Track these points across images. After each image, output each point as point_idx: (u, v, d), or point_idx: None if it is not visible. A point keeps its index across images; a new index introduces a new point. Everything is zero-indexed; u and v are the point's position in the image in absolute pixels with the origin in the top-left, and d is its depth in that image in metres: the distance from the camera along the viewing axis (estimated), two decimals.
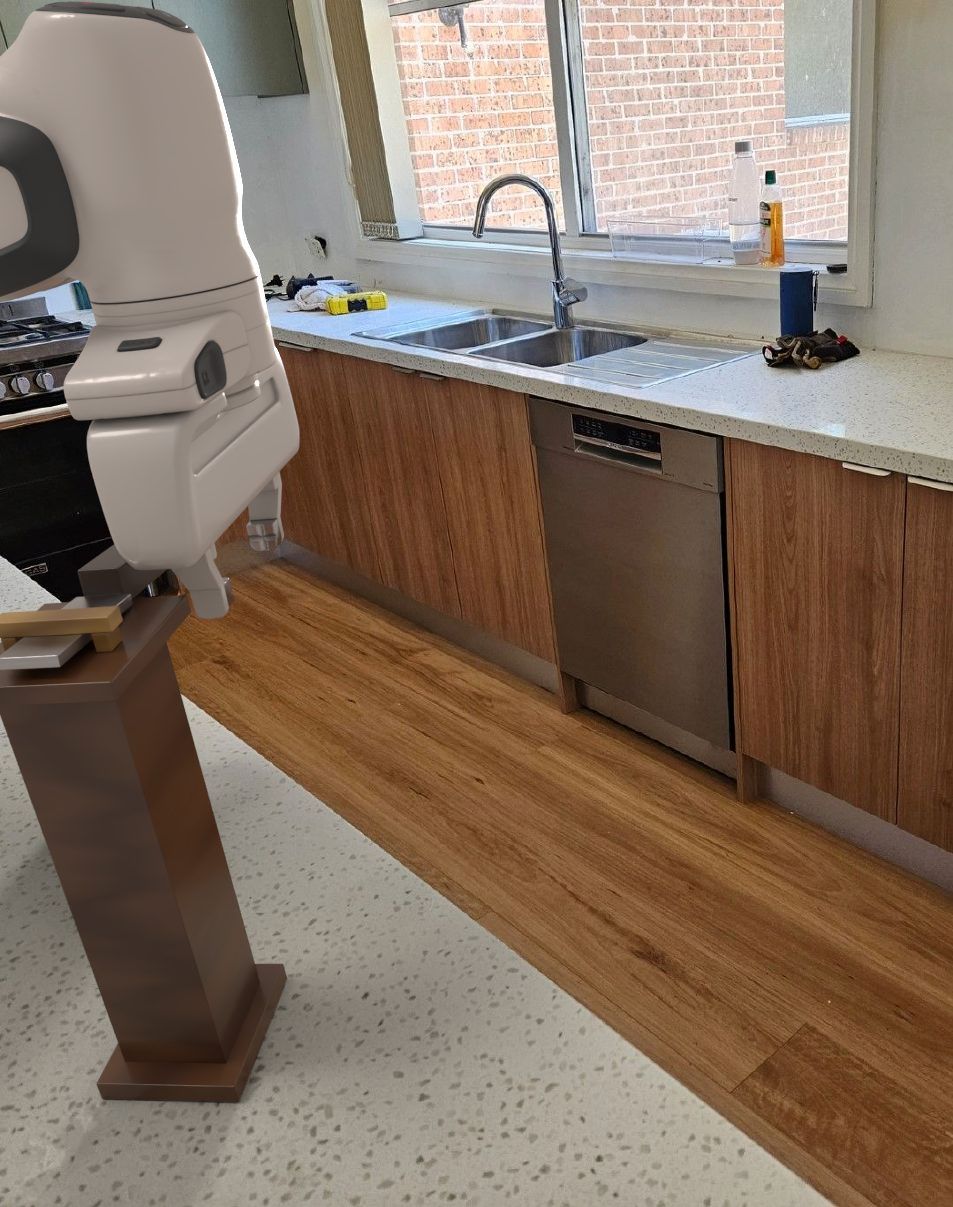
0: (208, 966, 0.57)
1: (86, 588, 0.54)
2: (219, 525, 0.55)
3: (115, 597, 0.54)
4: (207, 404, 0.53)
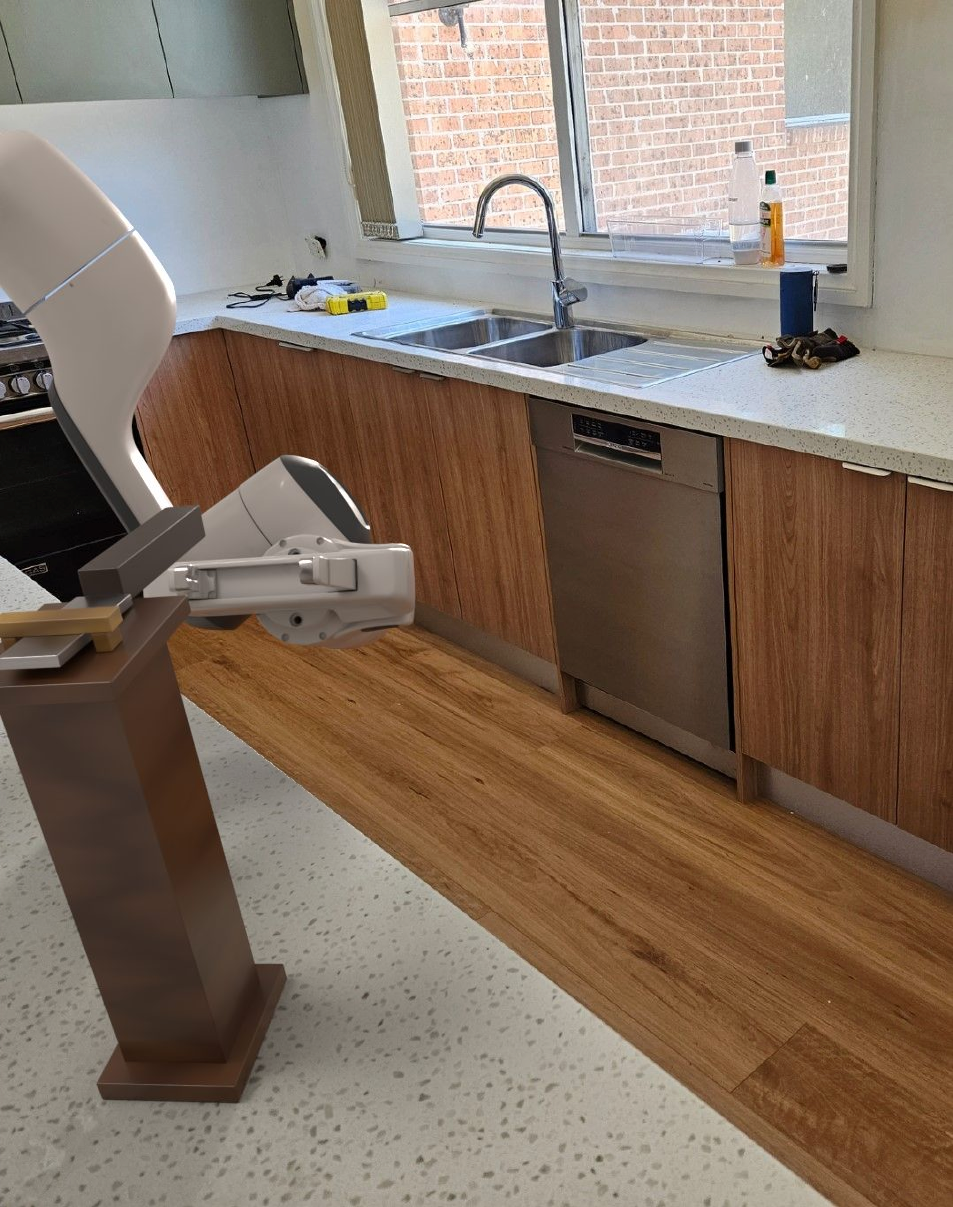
0: (208, 966, 0.57)
1: (86, 588, 0.54)
2: (348, 601, 0.77)
3: (115, 597, 0.54)
4: (373, 619, 0.83)
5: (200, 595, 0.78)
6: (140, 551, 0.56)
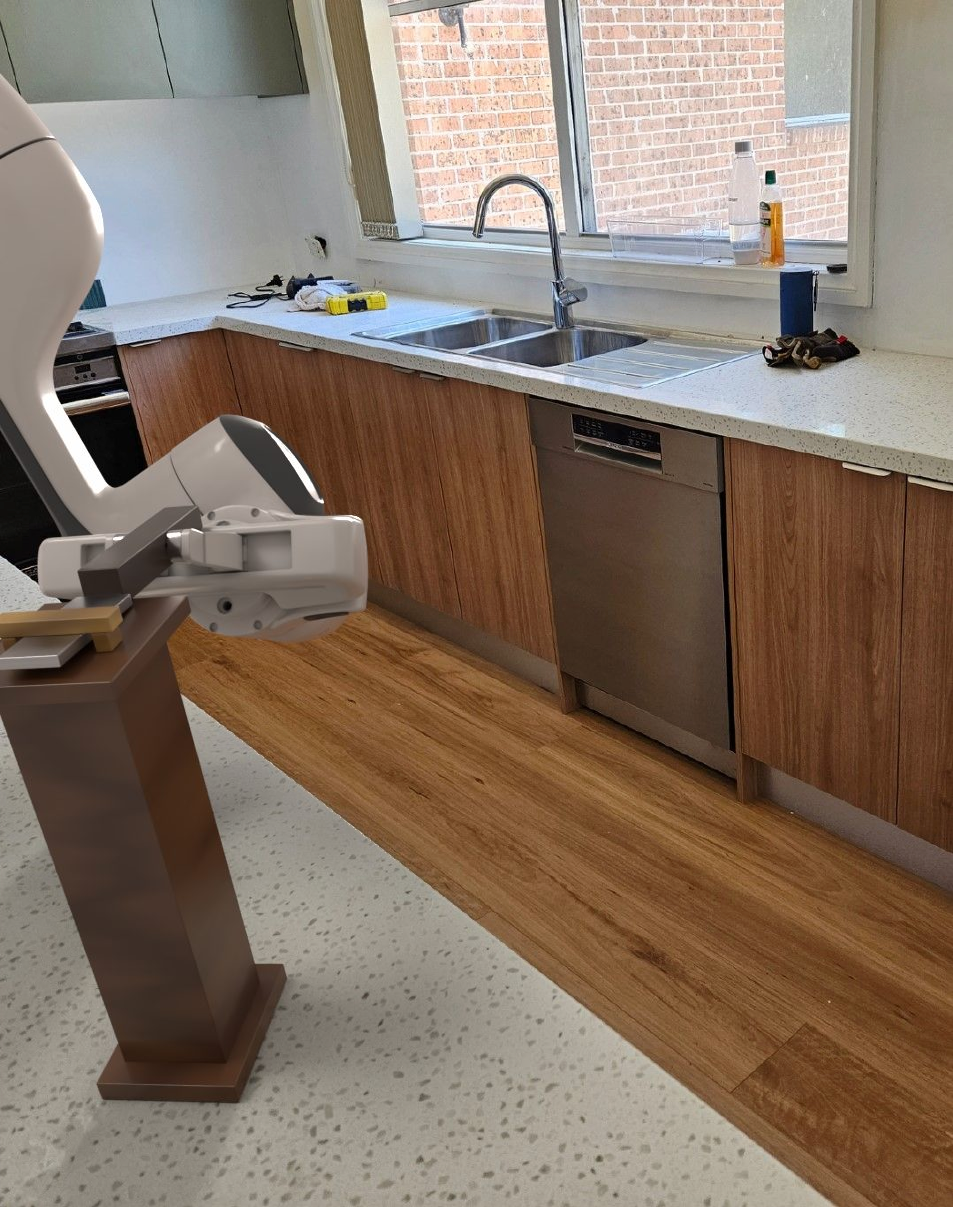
0: (208, 966, 0.57)
1: (85, 588, 0.54)
2: (281, 582, 0.63)
3: (114, 597, 0.54)
4: (317, 605, 0.70)
5: None
6: (140, 551, 0.56)
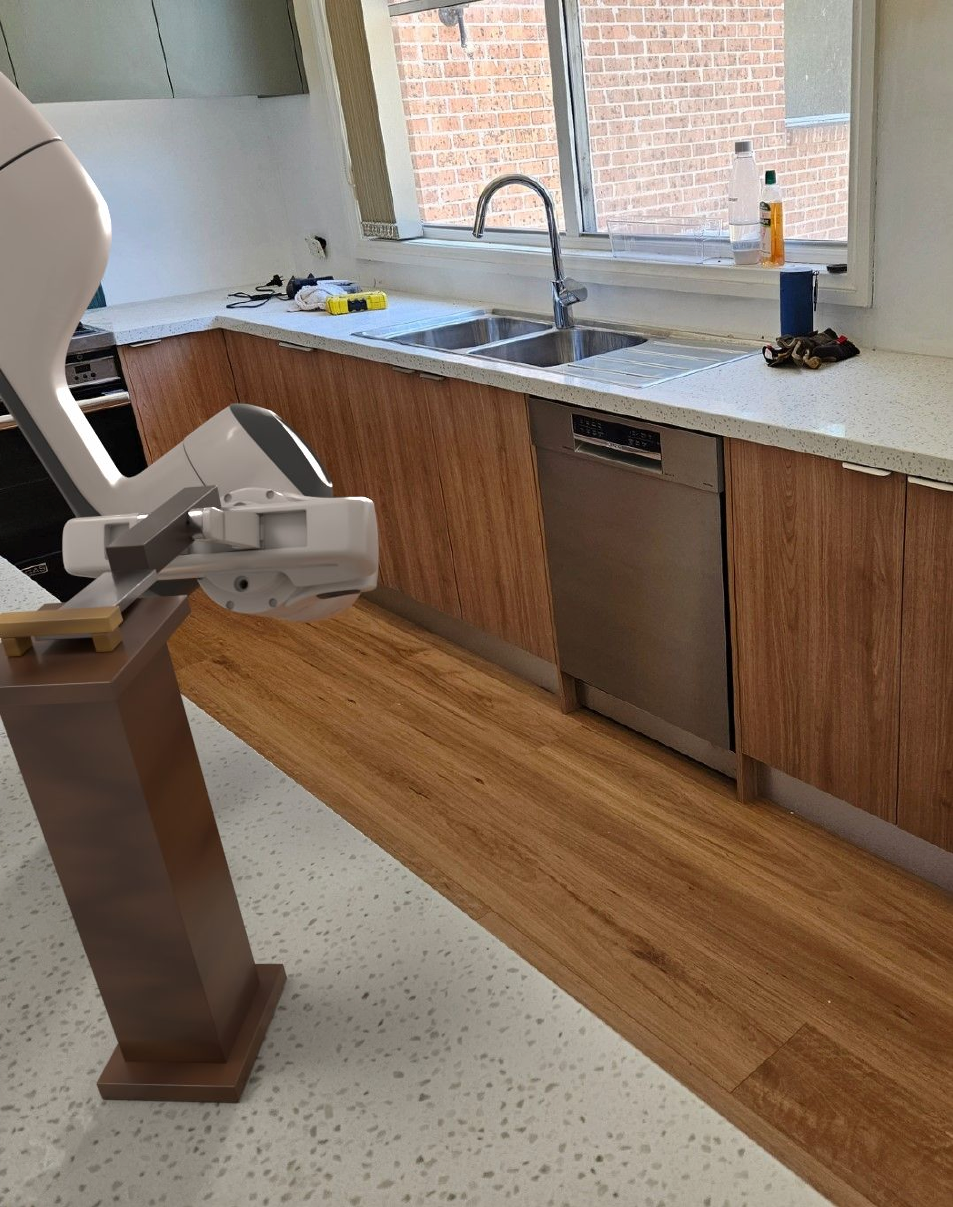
0: (208, 966, 0.57)
1: (113, 564, 0.57)
2: (297, 559, 0.66)
3: (141, 572, 0.57)
4: (330, 583, 0.72)
5: None
6: (164, 528, 0.59)
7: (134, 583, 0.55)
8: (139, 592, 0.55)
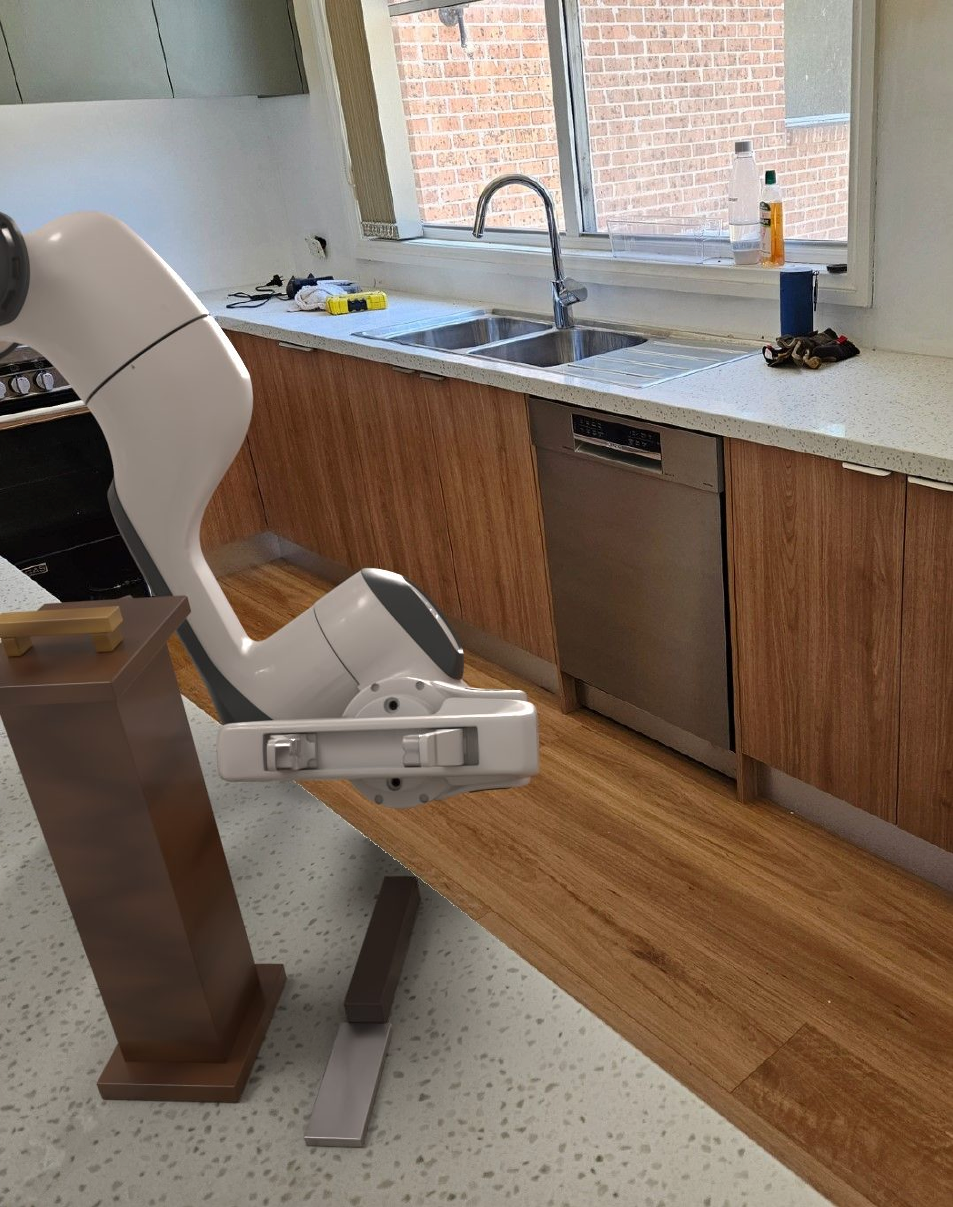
0: (208, 966, 0.57)
1: (350, 1016, 0.61)
2: None
3: (378, 1028, 0.60)
4: None
5: None
6: (390, 969, 0.63)
7: (378, 1051, 0.59)
8: (383, 1061, 0.59)
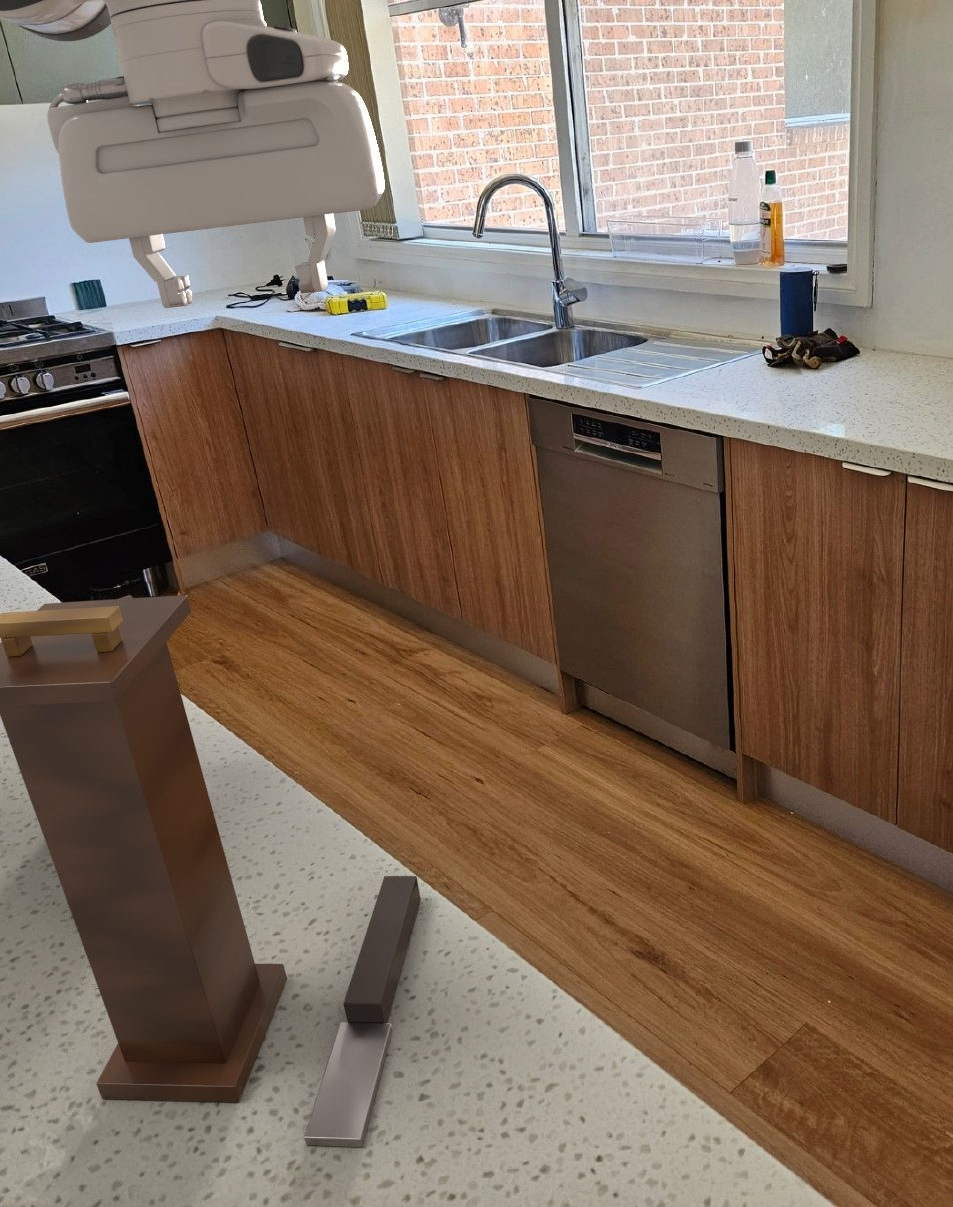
0: (208, 966, 0.57)
1: (350, 1016, 0.61)
2: None
3: (378, 1028, 0.60)
4: None
5: None
6: (390, 969, 0.63)
7: (378, 1051, 0.59)
8: (383, 1061, 0.59)
